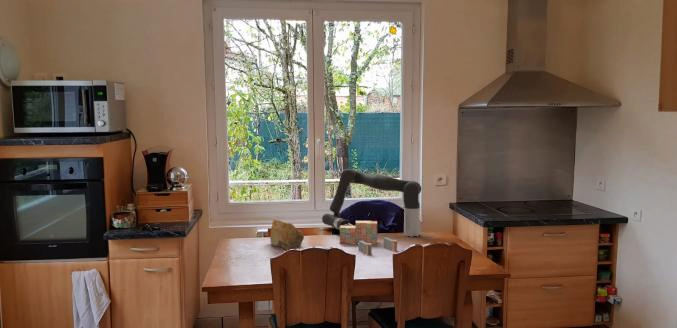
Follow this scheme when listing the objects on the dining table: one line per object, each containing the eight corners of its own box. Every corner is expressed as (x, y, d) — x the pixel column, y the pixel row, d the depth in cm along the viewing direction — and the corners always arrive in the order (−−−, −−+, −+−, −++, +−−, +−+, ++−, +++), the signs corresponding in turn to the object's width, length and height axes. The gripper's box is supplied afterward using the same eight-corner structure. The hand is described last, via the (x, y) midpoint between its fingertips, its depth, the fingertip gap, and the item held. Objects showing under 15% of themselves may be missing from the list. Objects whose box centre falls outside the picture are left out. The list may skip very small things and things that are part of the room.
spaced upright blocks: (386, 246, 254) (386, 236, 253) (397, 250, 245) (397, 240, 244) (358, 250, 245) (358, 240, 245) (368, 254, 237) (368, 244, 236)
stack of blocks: (339, 243, 260) (339, 222, 259) (340, 241, 266) (340, 220, 265) (377, 244, 258) (377, 223, 257) (376, 241, 265) (376, 220, 264)
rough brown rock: (310, 251, 246) (312, 223, 246) (281, 252, 238) (283, 224, 238) (294, 243, 266) (296, 217, 266) (267, 243, 259) (269, 217, 259)
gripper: (332, 219, 279) (345, 225, 263) (351, 217, 285) (365, 222, 269) (332, 231, 279) (345, 237, 264) (351, 229, 285) (365, 235, 270)
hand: (355, 230), depth 267 cm, fingers closed
